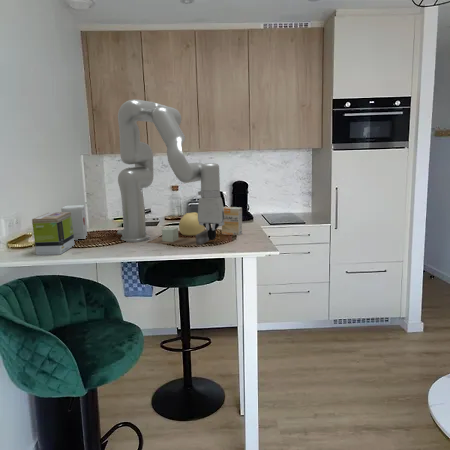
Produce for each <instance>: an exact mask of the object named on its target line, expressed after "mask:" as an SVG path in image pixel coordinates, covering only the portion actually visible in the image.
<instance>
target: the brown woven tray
mask: <svg viewBox="0 0 450 450" xmlns="http://www.w3.org/2000/svg"><path fill="white" fill-rule="evenodd" d="M209 241H210V240H209V238H208V230H207V229H204V231H203V232H201V233H199V234H197V235H195V238H194V237H178V240H176V241H174V242H165V241H162V236H159V237H156V238H153V239H151V240H149V241H148V242H146V243H147V244H148V243H149V244H164V245H166V244H167V245H183V246H202V245H204V244H206V243H207V242H209Z"/></svg>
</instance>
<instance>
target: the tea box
mask: <svg viewBox="0 0 450 450" xmlns="http://www.w3.org/2000/svg"><path fill="white" fill-rule="evenodd" d="M31 223H32V225H31V226H32V230H33V238H34V239H33V240H34V245H35V246H34V247H35V254H36V256H57V255H58V256H59V255H62V254H63V253H65V252H66V251H68V250H70V249H71V248H73V247H75V246H76V243H75V241H74V234H73V226H72V217H71V212H62V211H61V212H60V211H59V212H46V213H44V214H41V215H40V216H39V215H38V216H37V217H34V218H32V219H31ZM74 245H75V246H74ZM72 246H73V247H72Z"/></svg>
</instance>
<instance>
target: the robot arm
mask: <svg viewBox="0 0 450 450" xmlns="http://www.w3.org/2000/svg"><path fill="white" fill-rule="evenodd" d="M117 122H118V130H119V151H120V152H119V154H120V160H121V161H122V162H123V163H124V164H126V165H134V166H133V167H127V168H124V169H122V170H121V171H120V172H119V173H118V176H117V184H118V187H119V191H120V196H121V208H122V211H121V212H122V222H123V229H118V230H117V232H116V234H117V235H121V237H120V241H121V240H124V241H126V242H125V243H138V242H144V241H148V240H150V238H151V237H150V235H149V234H147V230H146V227H147V226H146V213H145V212H146V211H145V198H144V195H143V192H142V190H141V189H144V188H145V189H146V188H148V187H150V186H151V185H152V183H153V181H154V154H153V153H154V152H153V150H152V147H151V146H150V145H149V144H148V143H146V142H143V141H141V131H140V127H139V125H138V123H137V122H149V123H153V124H154V127H155V128H156V131H158V133H159V136H160V137H161V139H162V141H163V143H164V145H165V146H166V155H167V161H168V164H169V166H170V168H171V170H172V172H173V174H174V175H175V177H176V179H178V180H179V181H180V182H181V183H184V184H188V183H196V182H200V191H198V192H197V195H199V196H200V197H199V199H198V203H197V205H198V206H197V213H198V221H199V225H202V226H204V227H205V230H208V238H209V241H214V240H215V239H216V237H217V229H218V228H219V227H222V226H223V225H224V207H225V206H224V203H223V199H222V197H221V186H220V185H221V183H220V181H221V180H220V179H221V177H220V165H219V164H218V163H215V162H213V163H211V162H210V163H209V162H208V163H202V162H188V160H187V158H186V157H185V155H184V152H183V143H184V142H185V141H186V136H185V134H184V132H183V130H182V129H181V127H180V125H181V123H182V115H181V112H180V111H179V109H177V108H175V107H172V106H167V105H164V104H160V103H158V102H154V101H151V100H150V101H147V100H142V99H129V100H127V101H125V102H124V103H122V104H121V105H120V107H119V109H118V113H117ZM124 241H123V242H124Z"/></svg>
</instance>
